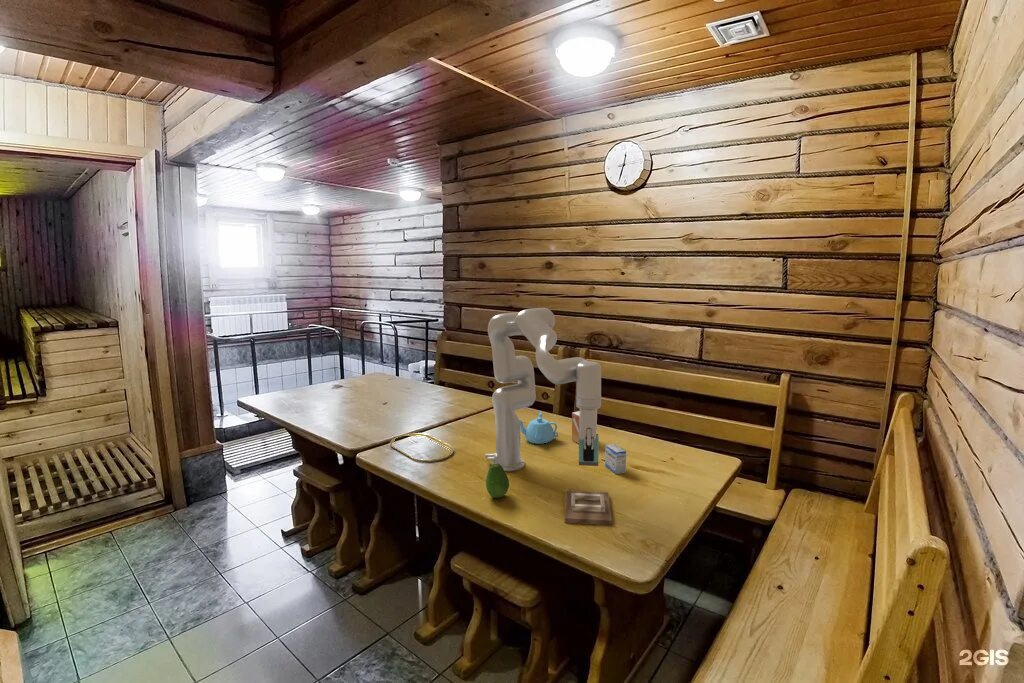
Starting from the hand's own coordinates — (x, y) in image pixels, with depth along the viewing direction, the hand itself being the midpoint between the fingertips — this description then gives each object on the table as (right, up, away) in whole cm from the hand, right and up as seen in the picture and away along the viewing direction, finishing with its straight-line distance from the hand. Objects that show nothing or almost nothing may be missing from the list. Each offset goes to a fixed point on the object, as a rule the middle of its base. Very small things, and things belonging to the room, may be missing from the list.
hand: (588, 457), depth 152 cm
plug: (0, -2, 0) cm, 2 cm away
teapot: (-13, -8, +63) cm, 65 cm away
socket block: (0, -17, +3) cm, 17 cm away
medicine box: (+15, -12, +32) cm, 37 cm away
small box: (+7, -8, +60) cm, 61 cm away
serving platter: (-63, -10, +56) cm, 85 cm away
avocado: (-29, -17, +12) cm, 35 cm away
